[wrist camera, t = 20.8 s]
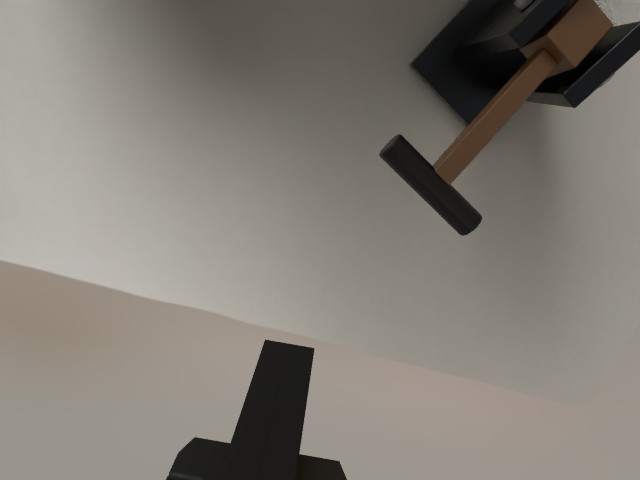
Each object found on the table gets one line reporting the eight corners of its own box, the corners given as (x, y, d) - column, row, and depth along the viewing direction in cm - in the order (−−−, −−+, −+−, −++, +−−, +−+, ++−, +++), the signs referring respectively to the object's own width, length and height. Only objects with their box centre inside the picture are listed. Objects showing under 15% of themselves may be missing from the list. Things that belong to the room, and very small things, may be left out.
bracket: (478, 137, 36) (547, 171, 23) (408, 64, 35) (441, 56, 22) (584, 36, 33) (732, 10, 20) (513, -48, 32) (622, -134, 19)
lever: (452, 233, 24) (472, 238, 22) (372, 156, 23) (386, 153, 21) (602, 66, 24) (639, 54, 22) (530, -18, 23) (560, -41, 21)
